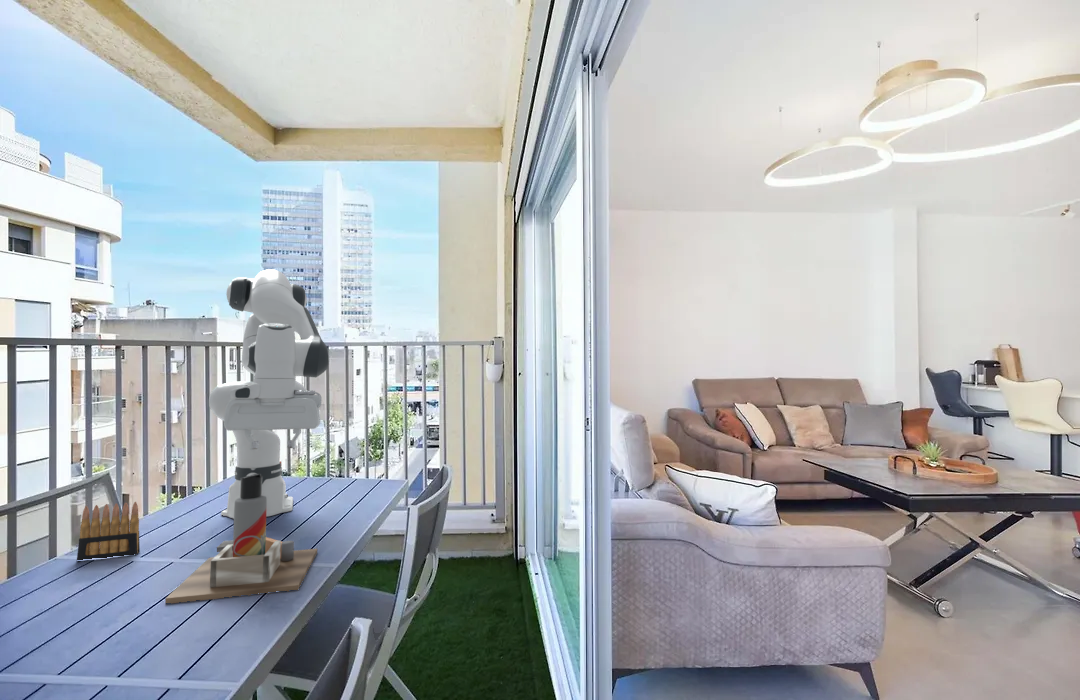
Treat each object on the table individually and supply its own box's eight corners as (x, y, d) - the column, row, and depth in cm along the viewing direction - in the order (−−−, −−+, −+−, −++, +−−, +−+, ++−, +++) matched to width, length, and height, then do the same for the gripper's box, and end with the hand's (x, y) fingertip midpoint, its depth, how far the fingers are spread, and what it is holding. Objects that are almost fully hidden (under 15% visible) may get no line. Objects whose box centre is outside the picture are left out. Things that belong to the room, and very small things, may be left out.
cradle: (209, 562, 107) (210, 534, 108) (317, 552, 113) (317, 526, 113) (165, 604, 88) (166, 570, 88) (298, 590, 94) (299, 558, 94)
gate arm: (296, 558, 106) (296, 541, 107) (285, 561, 104) (285, 545, 105) (262, 547, 113) (262, 532, 113) (251, 550, 111) (252, 535, 111)
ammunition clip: (139, 552, 113) (141, 500, 114) (136, 555, 111) (138, 502, 112) (80, 559, 109) (82, 505, 109) (76, 562, 107) (78, 507, 108)
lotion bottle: (250, 580, 96) (253, 477, 97) (225, 578, 97) (228, 476, 98) (271, 569, 101) (273, 471, 102) (246, 567, 102) (249, 471, 103)
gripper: (323, 389, 122) (322, 445, 122) (231, 389, 117) (230, 447, 117) (319, 390, 116) (317, 449, 116) (222, 391, 111) (220, 452, 110)
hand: (273, 448), depth 116 cm, fingers open, 7 cm apart
